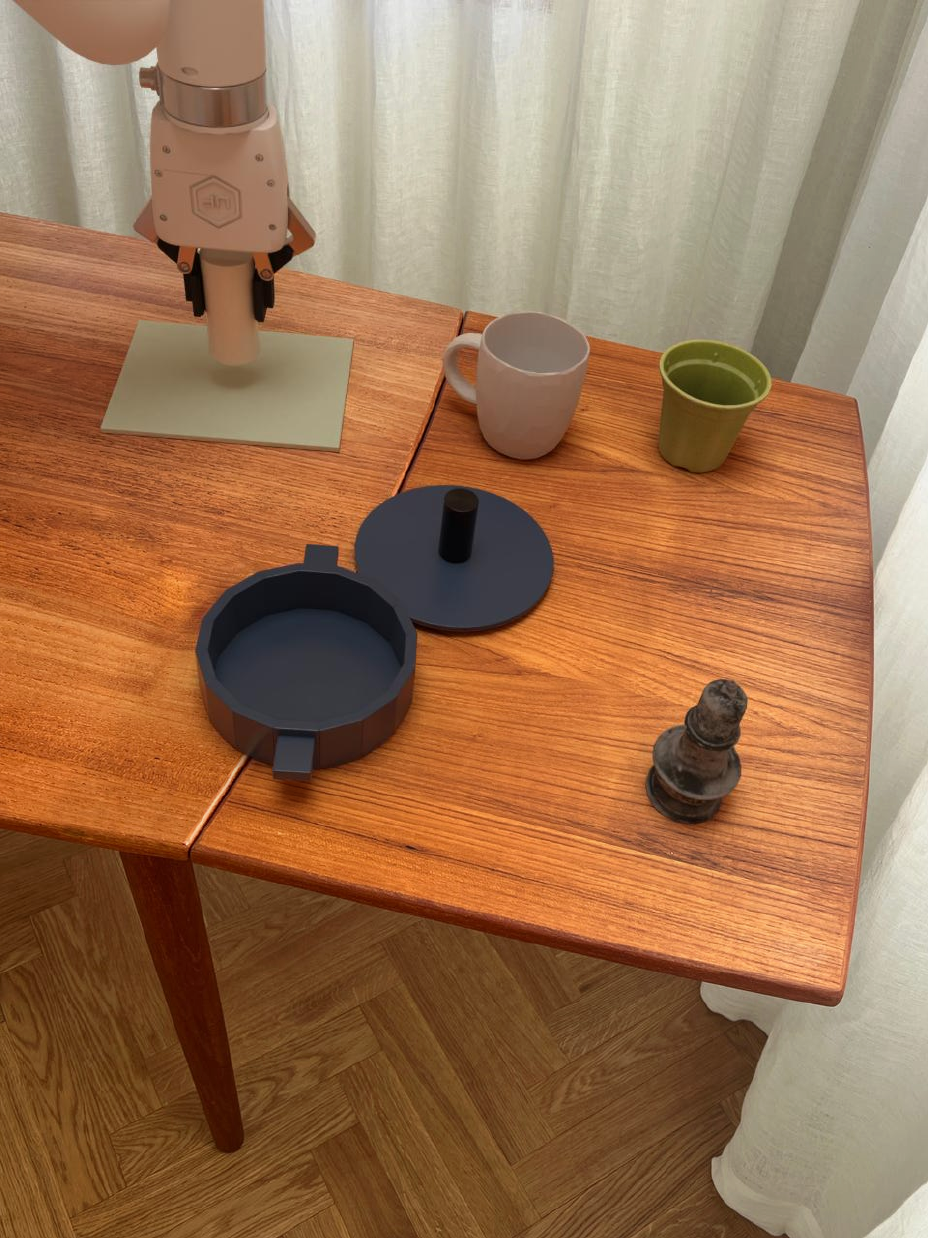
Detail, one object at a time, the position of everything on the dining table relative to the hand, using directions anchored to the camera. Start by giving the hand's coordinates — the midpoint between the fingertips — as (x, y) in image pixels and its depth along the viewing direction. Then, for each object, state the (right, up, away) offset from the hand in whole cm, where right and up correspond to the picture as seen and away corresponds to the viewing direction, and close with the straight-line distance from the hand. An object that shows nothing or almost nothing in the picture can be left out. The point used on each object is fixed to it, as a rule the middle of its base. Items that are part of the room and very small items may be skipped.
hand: (231, 308), depth 94 cm
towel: (-1, -5, +6) cm, 8 cm away
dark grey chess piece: (+34, -38, -18) cm, 54 cm away
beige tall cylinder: (0, -3, +3) cm, 4 cm away
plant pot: (+40, -11, +6) cm, 42 cm away
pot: (+9, -31, -15) cm, 35 cm away
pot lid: (+19, -21, -7) cm, 29 cm away
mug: (+23, -9, +6) cm, 25 cm away
